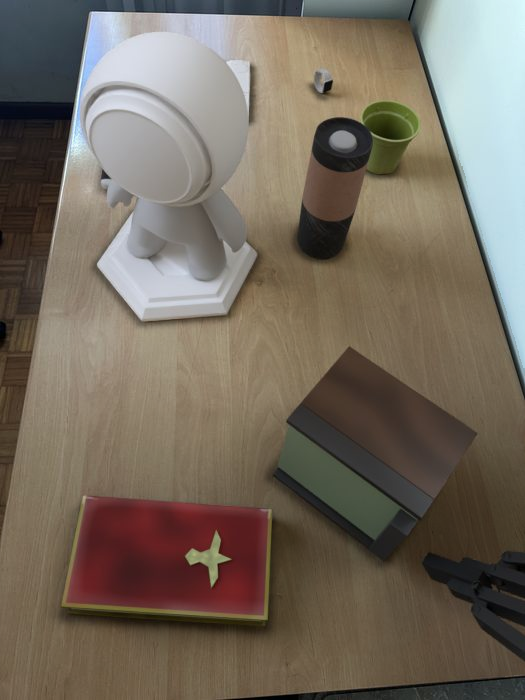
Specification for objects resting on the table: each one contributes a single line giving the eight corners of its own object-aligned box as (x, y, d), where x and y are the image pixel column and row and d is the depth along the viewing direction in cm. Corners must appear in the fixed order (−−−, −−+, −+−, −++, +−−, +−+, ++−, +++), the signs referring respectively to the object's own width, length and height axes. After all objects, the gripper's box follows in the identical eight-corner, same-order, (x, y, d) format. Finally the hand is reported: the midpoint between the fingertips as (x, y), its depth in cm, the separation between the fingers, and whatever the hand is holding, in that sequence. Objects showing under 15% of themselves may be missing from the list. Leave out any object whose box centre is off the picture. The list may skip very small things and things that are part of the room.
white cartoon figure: (76, 296, 91) (16, 76, 62) (152, 187, 103) (131, -43, 73) (209, 347, 89) (213, 144, 59) (271, 229, 101) (300, 9, 71)
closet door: (379, 565, 74) (412, 531, 63) (267, 478, 79) (278, 431, 67) (393, 544, 76) (428, 507, 64) (282, 460, 80) (296, 411, 68)
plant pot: (390, 191, 107) (404, 149, 99) (340, 165, 109) (350, 123, 101) (415, 158, 111) (431, 116, 104) (366, 135, 113) (378, 91, 106)
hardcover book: (88, 503, 77) (83, 491, 73) (269, 516, 78) (272, 505, 74) (67, 613, 70) (60, 605, 67) (264, 626, 71) (267, 619, 68)
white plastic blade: (218, 119, 112) (218, 113, 111) (222, 63, 120) (222, 58, 119) (248, 121, 112) (249, 115, 112) (250, 65, 120) (250, 60, 119)
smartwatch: (310, 85, 119) (313, 66, 115) (320, 82, 120) (323, 62, 116) (321, 97, 117) (325, 78, 114) (331, 94, 118) (335, 75, 115)
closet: (382, 560, 76) (421, 518, 62) (272, 475, 80) (286, 419, 67) (431, 486, 81) (478, 433, 67) (325, 410, 85) (349, 345, 72)
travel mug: (355, 248, 100) (386, 144, 83) (315, 269, 97) (338, 166, 80) (325, 215, 103) (349, 108, 86) (285, 234, 100) (301, 128, 83)
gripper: (699, 557, 51) (447, 494, 70) (638, 706, 45) (380, 594, 64) (720, 615, 54) (473, 540, 73) (665, 761, 49) (411, 639, 67)
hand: (430, 565), depth 69 cm, fingers closed
